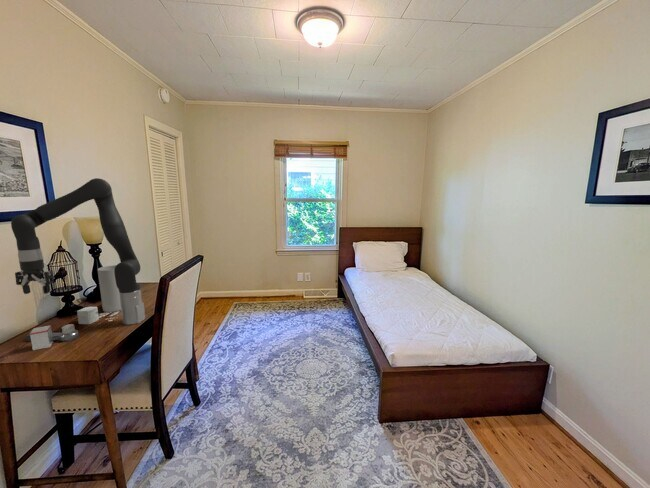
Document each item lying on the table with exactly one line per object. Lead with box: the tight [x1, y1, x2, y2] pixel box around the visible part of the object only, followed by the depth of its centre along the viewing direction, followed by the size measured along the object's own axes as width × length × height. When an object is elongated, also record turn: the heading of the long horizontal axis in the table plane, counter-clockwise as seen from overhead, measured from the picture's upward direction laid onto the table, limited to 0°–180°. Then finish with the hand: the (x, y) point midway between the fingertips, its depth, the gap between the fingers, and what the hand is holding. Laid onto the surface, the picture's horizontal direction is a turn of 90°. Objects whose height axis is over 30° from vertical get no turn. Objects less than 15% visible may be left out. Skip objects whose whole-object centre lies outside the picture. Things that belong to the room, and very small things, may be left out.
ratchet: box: [24, 323, 80, 343], centre depth 130 cm, size 21×6×6 cm, turn 93°
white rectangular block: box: [29, 325, 54, 351], centre depth 124 cm, size 6×6×8 cm
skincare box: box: [76, 306, 100, 325], centre depth 148 cm, size 6×6×7 cm
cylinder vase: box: [97, 264, 121, 313], centre depth 164 cm, size 12×12×25 cm
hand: (37, 293), depth 128 cm, fingers open, 8 cm apart
